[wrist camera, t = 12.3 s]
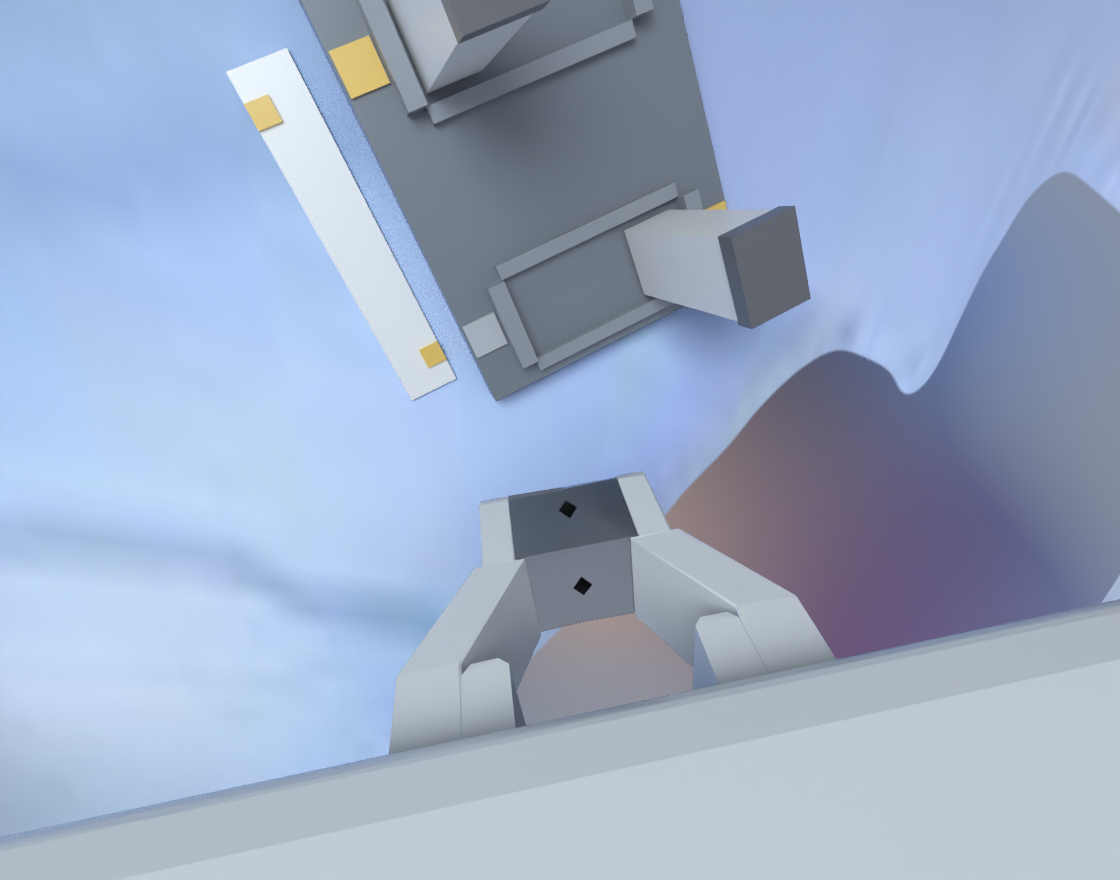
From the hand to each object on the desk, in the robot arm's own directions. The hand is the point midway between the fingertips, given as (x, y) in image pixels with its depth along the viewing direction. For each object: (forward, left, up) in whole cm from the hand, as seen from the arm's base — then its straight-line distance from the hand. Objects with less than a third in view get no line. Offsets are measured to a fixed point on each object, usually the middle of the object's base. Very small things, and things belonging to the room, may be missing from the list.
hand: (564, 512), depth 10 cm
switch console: (+9, +3, -26) cm, 27 cm away
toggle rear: (+13, -5, -24) cm, 28 cm away
